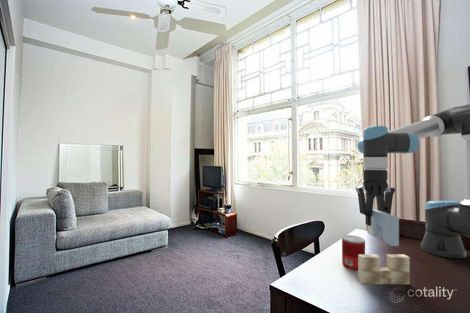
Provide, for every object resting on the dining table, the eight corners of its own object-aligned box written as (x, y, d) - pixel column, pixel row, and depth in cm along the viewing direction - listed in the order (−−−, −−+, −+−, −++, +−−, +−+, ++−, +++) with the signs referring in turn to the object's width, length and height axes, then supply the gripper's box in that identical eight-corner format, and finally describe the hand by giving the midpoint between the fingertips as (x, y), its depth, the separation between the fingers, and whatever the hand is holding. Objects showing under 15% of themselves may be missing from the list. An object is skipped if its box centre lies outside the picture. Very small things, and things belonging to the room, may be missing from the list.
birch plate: (404, 280, 79) (404, 254, 79) (409, 284, 77) (409, 257, 77) (358, 280, 79) (358, 254, 79) (362, 284, 77) (362, 257, 77)
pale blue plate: (368, 233, 84) (368, 209, 84) (375, 233, 84) (375, 209, 84) (391, 245, 72) (391, 217, 72) (398, 246, 72) (398, 217, 72)
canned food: (368, 272, 85) (368, 242, 85) (345, 270, 86) (345, 240, 87) (361, 262, 92) (361, 235, 92) (340, 261, 94) (340, 234, 94)
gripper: (389, 168, 86) (389, 231, 86) (348, 168, 86) (348, 230, 86) (404, 169, 79) (404, 238, 79) (359, 169, 79) (359, 237, 78)
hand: (375, 234), depth 82 cm, fingers closed on pale blue plate, 2 cm apart
